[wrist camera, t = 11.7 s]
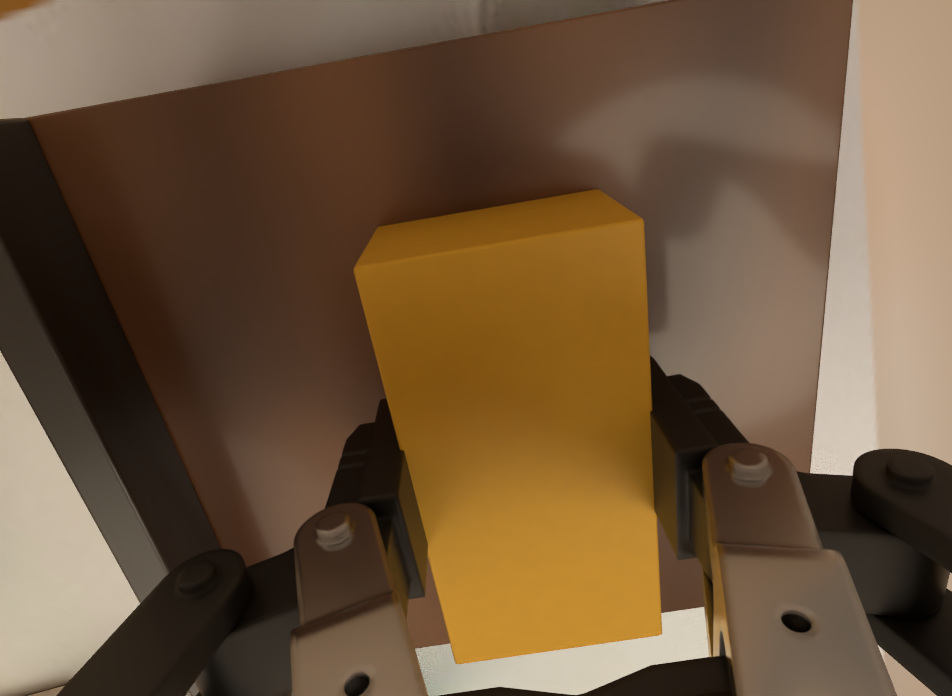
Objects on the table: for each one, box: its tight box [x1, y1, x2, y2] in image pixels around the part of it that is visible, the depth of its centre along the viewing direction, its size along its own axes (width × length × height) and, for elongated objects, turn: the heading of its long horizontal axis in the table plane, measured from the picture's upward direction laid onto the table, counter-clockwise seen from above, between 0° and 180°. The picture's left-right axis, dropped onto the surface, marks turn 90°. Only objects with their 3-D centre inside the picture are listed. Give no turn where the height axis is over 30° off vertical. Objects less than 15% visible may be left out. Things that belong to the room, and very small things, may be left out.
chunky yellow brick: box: [353, 189, 662, 664], centre depth 12 cm, size 4×9×3 cm, turn 9°
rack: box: [0, 0, 853, 696], centre depth 16 cm, size 16×15×11 cm
